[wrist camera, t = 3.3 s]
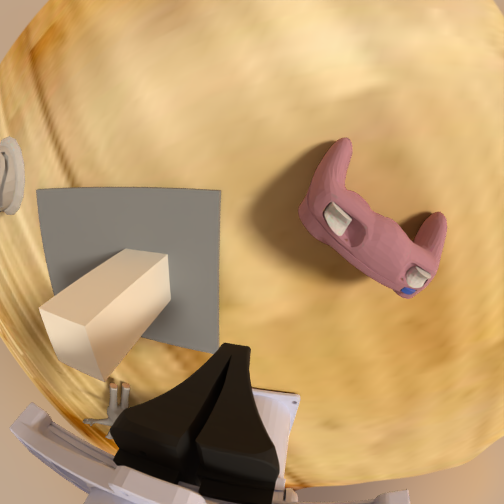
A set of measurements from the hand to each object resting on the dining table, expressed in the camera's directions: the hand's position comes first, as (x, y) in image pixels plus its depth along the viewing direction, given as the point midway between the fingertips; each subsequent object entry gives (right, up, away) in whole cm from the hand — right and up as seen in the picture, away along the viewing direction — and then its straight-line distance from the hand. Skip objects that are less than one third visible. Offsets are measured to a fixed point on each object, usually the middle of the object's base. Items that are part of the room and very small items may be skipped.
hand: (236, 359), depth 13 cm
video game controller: (+9, +8, +4) cm, 13 cm away
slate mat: (-12, +4, +9) cm, 15 cm away
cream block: (-8, +4, +8) cm, 12 cm away
